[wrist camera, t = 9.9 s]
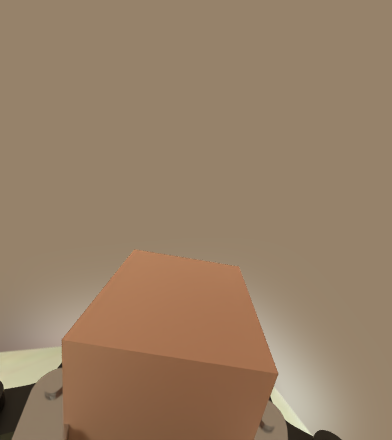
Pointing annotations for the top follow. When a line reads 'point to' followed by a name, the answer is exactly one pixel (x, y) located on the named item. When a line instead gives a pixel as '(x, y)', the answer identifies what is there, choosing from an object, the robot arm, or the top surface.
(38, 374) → the top surface
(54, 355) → the top surface
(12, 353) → the top surface
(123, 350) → the top brick
